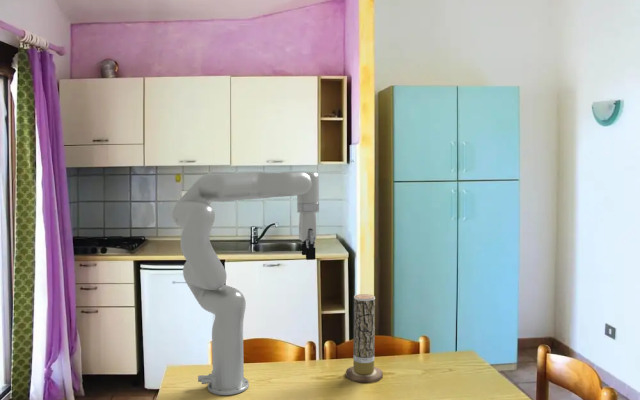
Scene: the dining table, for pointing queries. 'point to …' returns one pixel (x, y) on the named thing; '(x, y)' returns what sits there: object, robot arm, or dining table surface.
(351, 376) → the base
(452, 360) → the dining table surface
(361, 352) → the bark-patterned cylinder
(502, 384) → the dining table surface
